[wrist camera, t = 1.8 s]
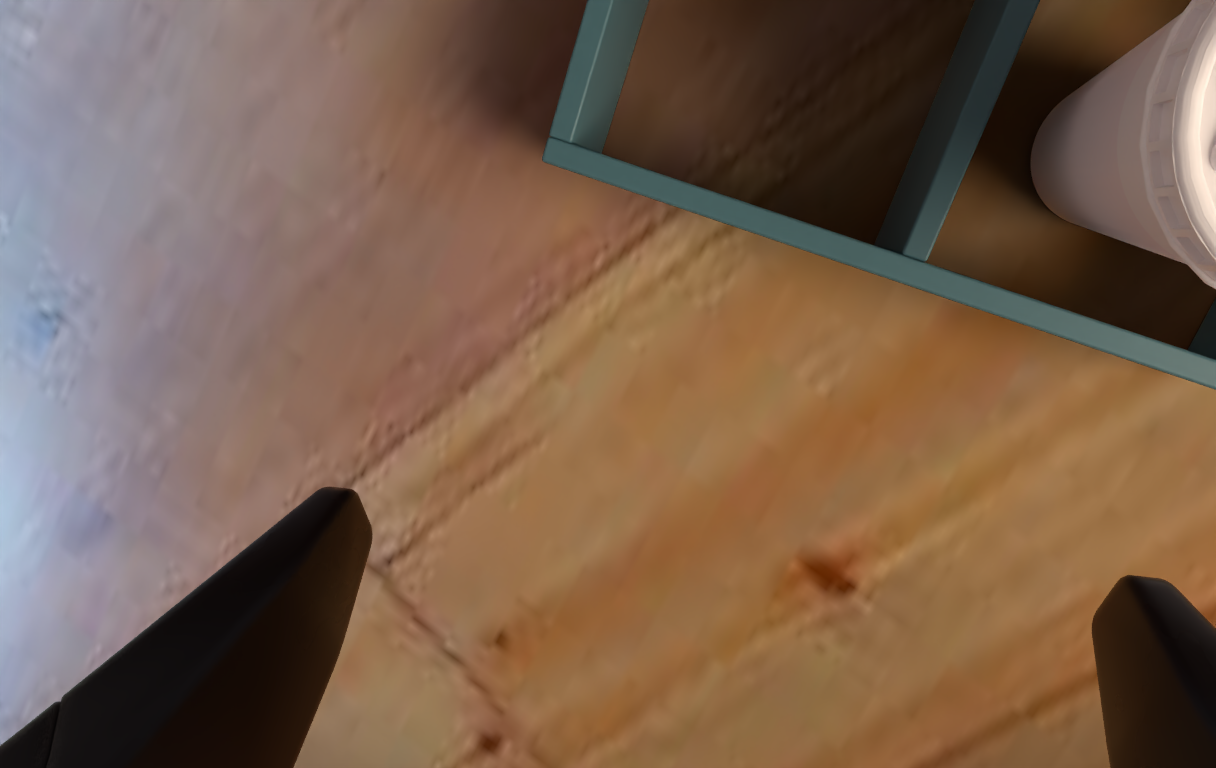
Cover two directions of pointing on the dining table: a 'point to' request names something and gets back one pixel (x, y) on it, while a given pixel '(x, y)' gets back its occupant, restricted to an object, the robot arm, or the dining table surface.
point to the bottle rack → (916, 202)
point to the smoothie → (1142, 146)
